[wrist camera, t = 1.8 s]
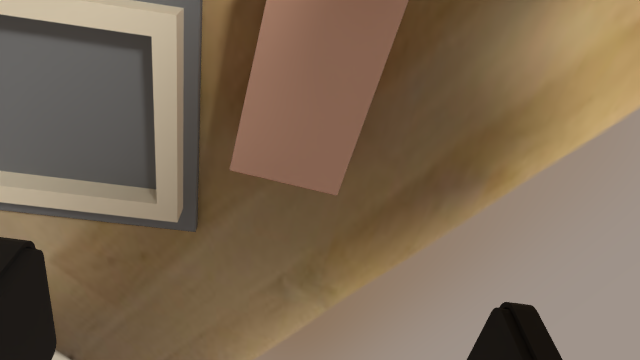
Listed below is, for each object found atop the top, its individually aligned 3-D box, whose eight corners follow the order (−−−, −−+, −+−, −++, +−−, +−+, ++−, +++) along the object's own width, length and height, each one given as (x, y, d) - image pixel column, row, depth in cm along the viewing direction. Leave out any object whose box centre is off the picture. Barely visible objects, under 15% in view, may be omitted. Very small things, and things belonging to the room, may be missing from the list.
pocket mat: (202, -30, 24) (193, -23, 22) (197, 226, 32) (190, 246, 30) (-237, -100, 22) (-286, -99, 20) (-123, 189, 30) (-150, 209, 29)
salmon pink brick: (398, -23, 24) (411, -7, 21) (334, 160, 30) (337, 195, 27) (282, -59, 23) (277, -49, 20) (239, 136, 29) (229, 170, 26)
